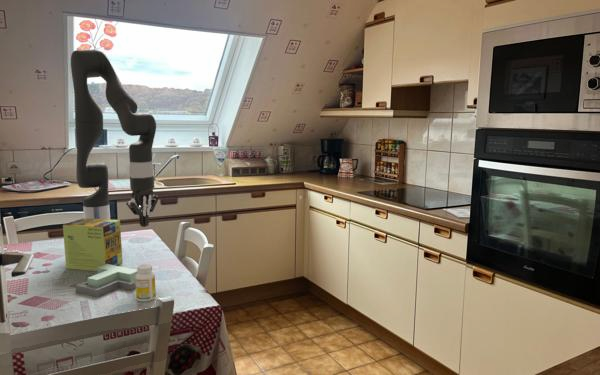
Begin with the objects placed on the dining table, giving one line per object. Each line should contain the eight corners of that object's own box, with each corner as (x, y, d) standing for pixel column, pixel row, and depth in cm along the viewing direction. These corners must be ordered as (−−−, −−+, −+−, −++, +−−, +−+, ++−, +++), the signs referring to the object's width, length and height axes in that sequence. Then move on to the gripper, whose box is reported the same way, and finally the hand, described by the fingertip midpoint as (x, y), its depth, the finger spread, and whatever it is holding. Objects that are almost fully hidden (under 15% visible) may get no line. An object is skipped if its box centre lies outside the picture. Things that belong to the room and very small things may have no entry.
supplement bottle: (143, 303, 136) (141, 270, 135) (132, 298, 140) (130, 266, 138) (159, 297, 140) (158, 266, 139) (149, 293, 144) (147, 262, 142)
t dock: (64, 288, 147) (64, 282, 147) (90, 278, 156) (90, 272, 155) (109, 299, 139) (109, 293, 139) (134, 288, 147) (134, 282, 147)
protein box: (106, 272, 162) (103, 226, 160) (65, 269, 165) (61, 224, 163) (123, 262, 172) (120, 219, 170) (84, 259, 175) (81, 217, 173)
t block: (108, 275, 159) (107, 263, 158) (140, 282, 152) (139, 270, 152) (76, 287, 148) (75, 275, 147) (110, 295, 142) (109, 282, 141)
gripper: (147, 171, 166) (150, 220, 170) (117, 176, 155) (120, 229, 158) (164, 173, 163) (166, 223, 166) (135, 178, 151) (138, 232, 155)
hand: (144, 226), depth 162 cm, fingers closed
